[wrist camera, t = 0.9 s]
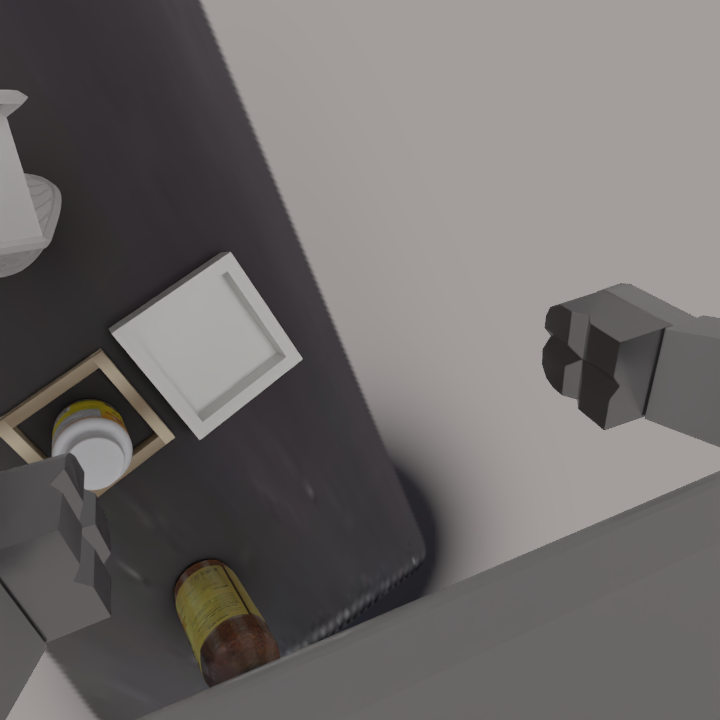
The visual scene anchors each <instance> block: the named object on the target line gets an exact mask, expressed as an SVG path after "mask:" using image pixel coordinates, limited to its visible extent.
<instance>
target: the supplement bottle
mask: <svg viewBox="0 0 720 720" xmlns="http://www.w3.org/2000/svg"><path fill="white" fill-rule="evenodd" d="M68 452H70V453H71V454H73V455H74V456H75V457H76V458H77V460H78V462H79V464H80V465H81V467H82V469H83V471H84V472H85V473H84V489H86V490H99V489H103V488H105V487H108V486H110V485H111V484H113V483H114V482H115V481H116V480H118V479H119V478H120V477H121V476H122V475H123V474H124V473H125V472H126V470H127V469H128V467H129V465H130V462H131V459H132V454H133V449H132V442H131V439H130V437H129V434H128V432H127V429H126V427H125V425H124V422H123V420H122V417H121V416H120V414H119V412H118V411H117V410H116V409H115V408H114V407H113V406H112V405H110V404H108V403H107V402H104V401H102V400H97V399H83V400H79V401H76V402H74V403H72V404H70V405H68V406H67V407H66V408H64V409H63V410H62V411H61V412H60V414H59V415H58V416H57V418H56V420H55V423H54V426H53V436H52V457H54V456H58V455H61V454H65V453H68Z"/></svg>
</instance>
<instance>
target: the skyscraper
mask: <svg viewBox="0 0 720 720" xmlns="http://www.w3.org/2000/svg"><path fill="white" fill-rule="evenodd" d="M27 98H28V97H27V96H26V95H24V94H23V93H21V92H19V91H17V90H0V104H2V105H0V277H6V276H9V275H13V274H16V273H18V272H20V271H22V270H23V269H25V268H26V267H28V266H29V265H30V264H31V263H32V262H33V261H34V260H36V258H37V257H38V256H39V255H40V253H41V252H42V251H43V249H44V248H47V246H48V245H49V244H50V242H51V240H52V237H53V234H54V231H55V228H56V225H57V221H58V218H59V215H60V210H61V201H62V200H61V193H60V191H59V189H58V188H57V187H56V186H55V185H54V184H53V183H51V182H50V181H48V180H47V179H45V178H43V177H40V176H37V175H32V174H25V173H23V169H22V166H21V163H20V160H19V156H18V153H17V150H16V147H15V143H14V140H13V137H12V134H11V131H10V127H9V124H8V121H7V118H6V117H7V116H9V115H10V114H11V113H12V112H13V111H15V110H16V109H17V108H18V107H20V106H21V105H22V104H23V103H24V102H25V101H26V99H27Z"/></svg>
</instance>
